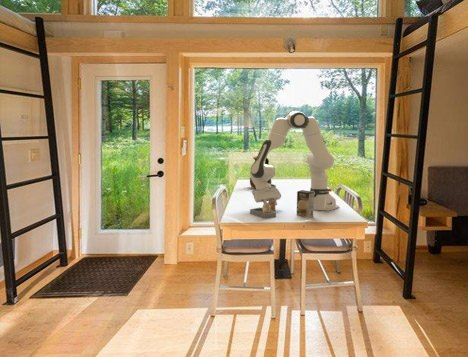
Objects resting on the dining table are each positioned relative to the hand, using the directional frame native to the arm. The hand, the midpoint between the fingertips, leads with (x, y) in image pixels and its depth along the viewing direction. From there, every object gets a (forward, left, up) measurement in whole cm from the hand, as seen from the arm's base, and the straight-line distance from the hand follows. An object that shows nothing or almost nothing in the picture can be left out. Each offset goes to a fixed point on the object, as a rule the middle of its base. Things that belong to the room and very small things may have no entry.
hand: (272, 205), depth 239 cm
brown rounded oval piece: (0, -1, -5) cm, 5 cm away
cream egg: (+11, +8, -4) cm, 14 cm away
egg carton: (+11, +4, -5) cm, 13 cm away
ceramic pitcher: (-52, -84, -5) cm, 99 cm away
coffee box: (-11, +19, -5) cm, 23 cm away
